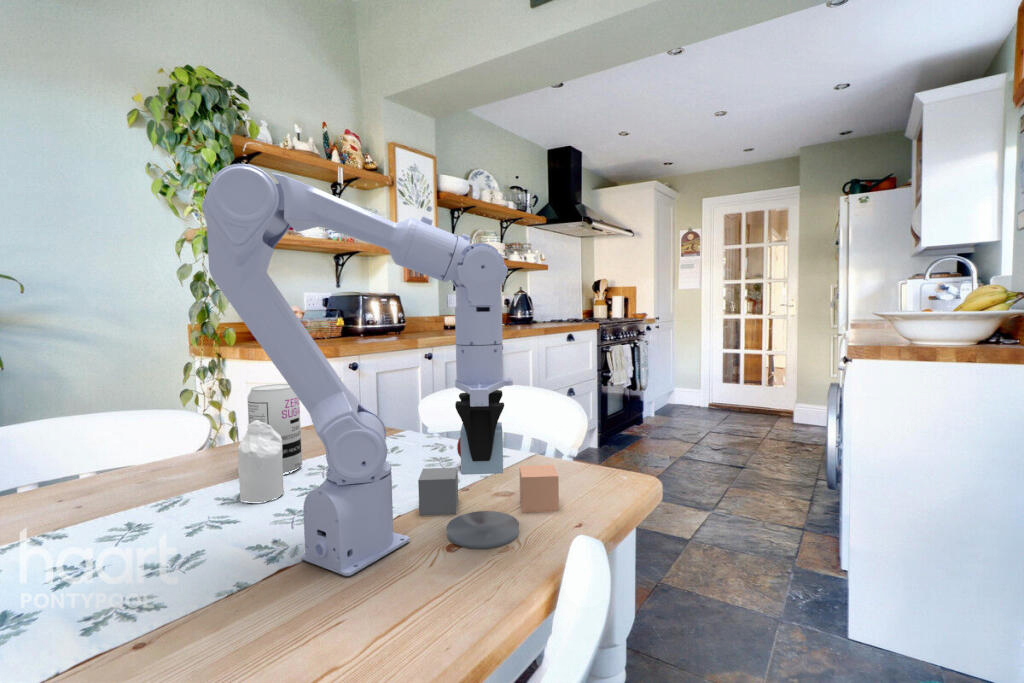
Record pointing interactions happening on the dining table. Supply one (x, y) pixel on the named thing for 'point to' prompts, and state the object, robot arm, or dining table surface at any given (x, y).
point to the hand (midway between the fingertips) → (481, 453)
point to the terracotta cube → (539, 488)
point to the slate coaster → (483, 529)
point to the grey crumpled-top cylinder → (260, 463)
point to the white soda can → (279, 418)
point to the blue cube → (482, 466)
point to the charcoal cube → (438, 491)
